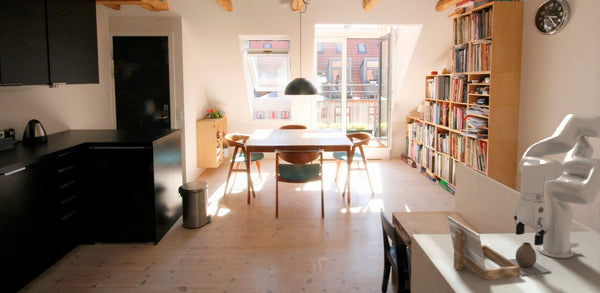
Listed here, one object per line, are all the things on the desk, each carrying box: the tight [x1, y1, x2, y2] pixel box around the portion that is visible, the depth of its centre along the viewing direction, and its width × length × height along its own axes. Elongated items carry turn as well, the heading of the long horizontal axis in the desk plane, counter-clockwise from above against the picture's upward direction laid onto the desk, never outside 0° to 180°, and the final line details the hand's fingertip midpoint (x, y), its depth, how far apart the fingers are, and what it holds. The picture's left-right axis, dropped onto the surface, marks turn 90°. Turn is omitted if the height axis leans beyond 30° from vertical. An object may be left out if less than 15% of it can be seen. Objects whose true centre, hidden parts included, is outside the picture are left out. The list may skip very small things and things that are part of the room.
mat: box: [508, 258, 552, 277], centre depth 158 cm, size 12×12×1 cm
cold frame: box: [446, 215, 521, 281], centre depth 158 cm, size 19×20×17 cm
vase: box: [515, 241, 538, 268], centre depth 158 cm, size 7×7×9 cm
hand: (529, 239), depth 157 cm, fingers open, 9 cm apart
